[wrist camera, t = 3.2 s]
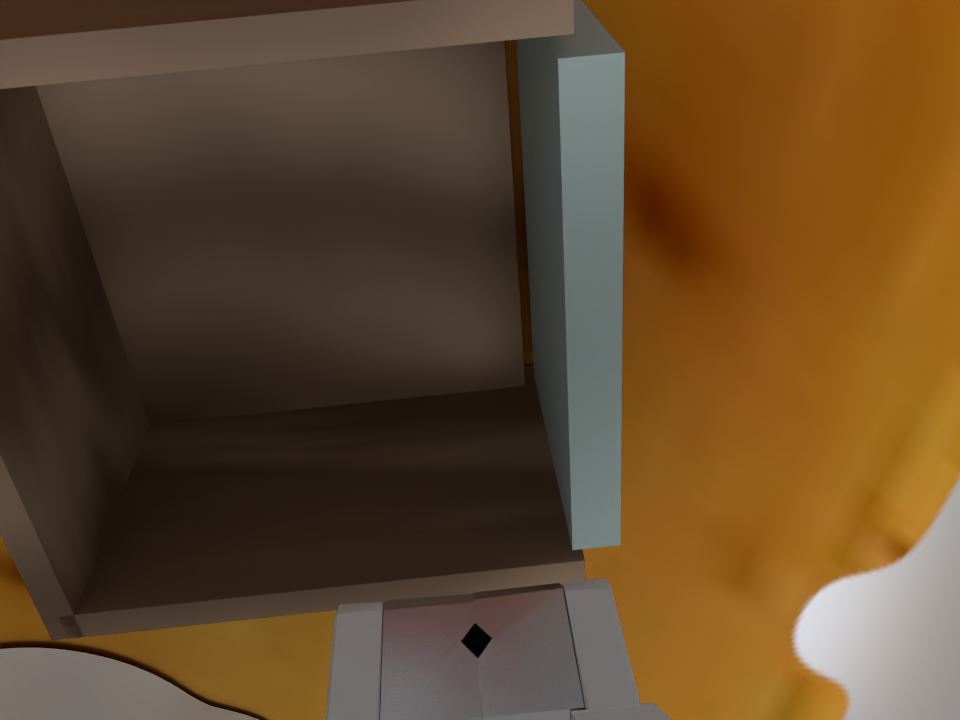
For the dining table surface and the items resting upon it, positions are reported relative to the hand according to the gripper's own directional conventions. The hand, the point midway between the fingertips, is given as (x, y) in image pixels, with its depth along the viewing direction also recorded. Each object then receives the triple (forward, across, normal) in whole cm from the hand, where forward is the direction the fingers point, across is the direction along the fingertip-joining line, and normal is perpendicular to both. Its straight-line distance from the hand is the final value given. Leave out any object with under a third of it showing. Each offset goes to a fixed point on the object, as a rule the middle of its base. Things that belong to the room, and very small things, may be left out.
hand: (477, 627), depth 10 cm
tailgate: (+17, +2, -2) cm, 18 cm away
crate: (+18, -4, -2) cm, 19 cm away
